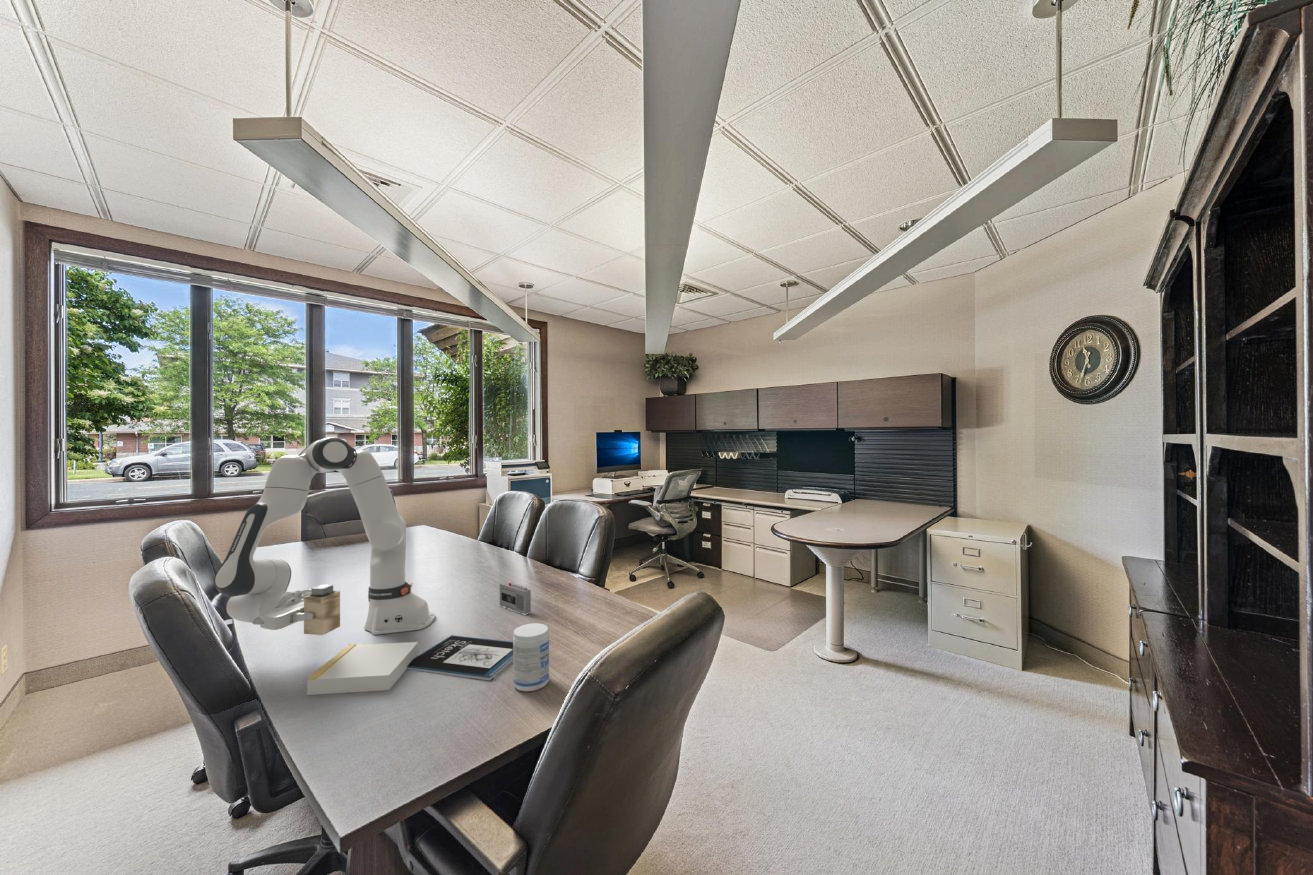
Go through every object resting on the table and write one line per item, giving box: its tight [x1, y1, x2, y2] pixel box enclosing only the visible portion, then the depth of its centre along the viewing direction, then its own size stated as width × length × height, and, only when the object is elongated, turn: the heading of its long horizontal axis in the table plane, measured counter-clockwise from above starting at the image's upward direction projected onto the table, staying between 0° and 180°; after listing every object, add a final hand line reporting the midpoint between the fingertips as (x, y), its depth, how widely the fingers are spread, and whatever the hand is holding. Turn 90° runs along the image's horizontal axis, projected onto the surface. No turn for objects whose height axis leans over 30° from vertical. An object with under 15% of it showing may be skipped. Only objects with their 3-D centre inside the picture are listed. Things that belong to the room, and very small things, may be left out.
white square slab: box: [306, 641, 419, 696], centre depth 132 cm, size 20×20×4 cm
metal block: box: [310, 583, 334, 597], centre depth 134 cm, size 4×4×4 cm
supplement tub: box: [512, 622, 550, 692], centre depth 126 cm, size 10×10×15 cm
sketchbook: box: [406, 634, 513, 682], centre depth 142 cm, size 22×30×2 cm
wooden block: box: [303, 590, 341, 636], centre depth 134 cm, size 6×6×10 cm
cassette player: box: [499, 581, 532, 614], centre depth 180 cm, size 16×3×10 cm, turn 54°
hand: (325, 611), depth 134 cm, fingers closed on wooden block, 6 cm apart
